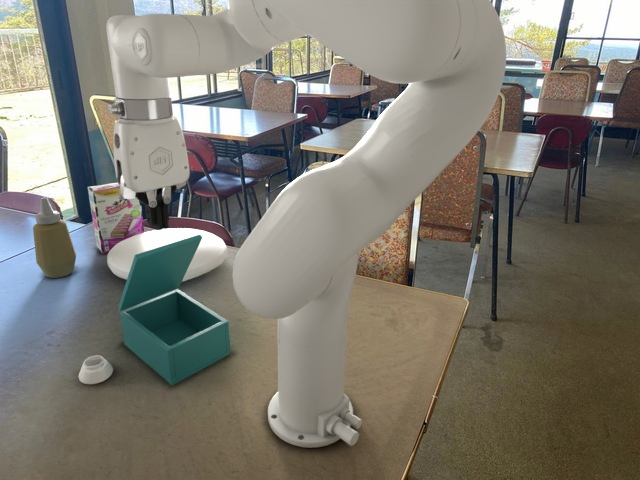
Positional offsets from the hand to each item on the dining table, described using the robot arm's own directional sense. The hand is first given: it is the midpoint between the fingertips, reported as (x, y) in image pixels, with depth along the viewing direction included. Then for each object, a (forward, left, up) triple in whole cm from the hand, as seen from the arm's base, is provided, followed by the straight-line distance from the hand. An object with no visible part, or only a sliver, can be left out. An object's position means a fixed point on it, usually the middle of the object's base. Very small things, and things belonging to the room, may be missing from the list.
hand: (158, 226), depth 77 cm
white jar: (+2, +13, -23) cm, 27 cm away
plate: (+29, -17, -23) cm, 41 cm away
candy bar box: (+47, -14, -23) cm, 54 cm away
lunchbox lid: (+1, 0, -9) cm, 9 cm away
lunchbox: (-1, 0, -23) cm, 23 cm away
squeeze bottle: (+43, +3, -23) cm, 49 cm away
